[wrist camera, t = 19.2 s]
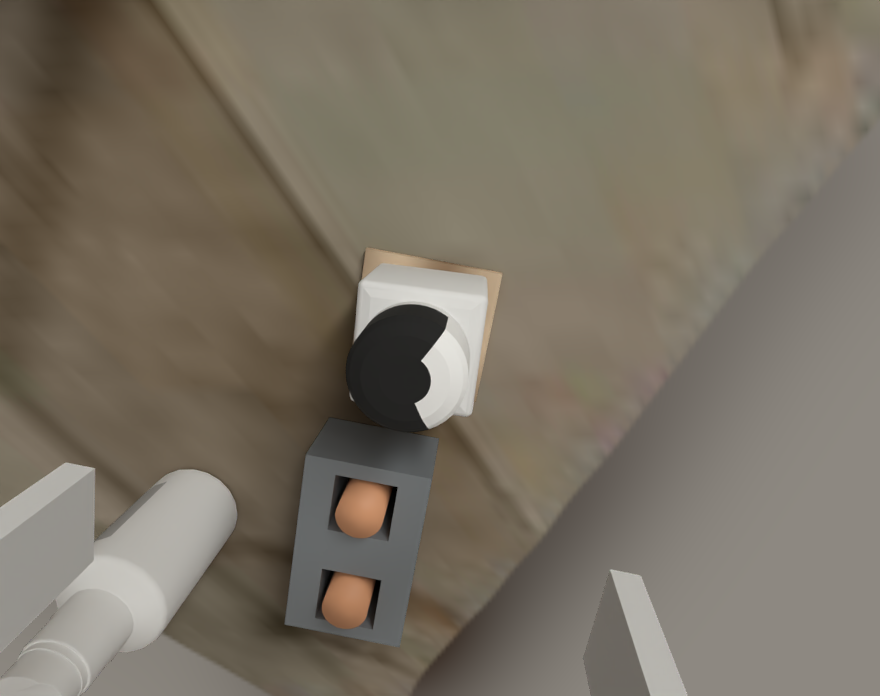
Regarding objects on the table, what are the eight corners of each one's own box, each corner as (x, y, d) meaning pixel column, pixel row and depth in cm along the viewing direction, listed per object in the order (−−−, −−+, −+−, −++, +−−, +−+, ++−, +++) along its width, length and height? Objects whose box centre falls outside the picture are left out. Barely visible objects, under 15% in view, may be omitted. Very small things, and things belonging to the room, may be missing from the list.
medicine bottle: (370, 364, 41) (326, 438, 30) (379, 261, 39) (336, 297, 28) (473, 378, 41) (469, 458, 30) (488, 275, 39) (489, 317, 28)
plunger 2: (338, 571, 45) (319, 624, 40) (343, 537, 44) (324, 586, 39) (377, 579, 45) (363, 633, 40) (383, 545, 44) (370, 595, 39)
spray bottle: (140, 474, 46) (-69, 655, 28) (224, 460, 45) (62, 638, 28) (168, 551, 47) (-11, 766, 30) (250, 539, 47) (113, 753, 29)
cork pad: (349, 374, 42) (347, 377, 42) (367, 247, 40) (365, 248, 39) (475, 398, 42) (475, 401, 42) (502, 272, 40) (502, 274, 39)
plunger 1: (350, 489, 43) (332, 533, 38) (356, 451, 42) (338, 491, 37) (392, 497, 43) (379, 542, 38) (398, 459, 42) (386, 500, 37)
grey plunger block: (308, 569, 47) (284, 624, 41) (329, 417, 43) (305, 454, 38) (409, 589, 47) (399, 647, 41) (438, 438, 43) (432, 479, 37)
